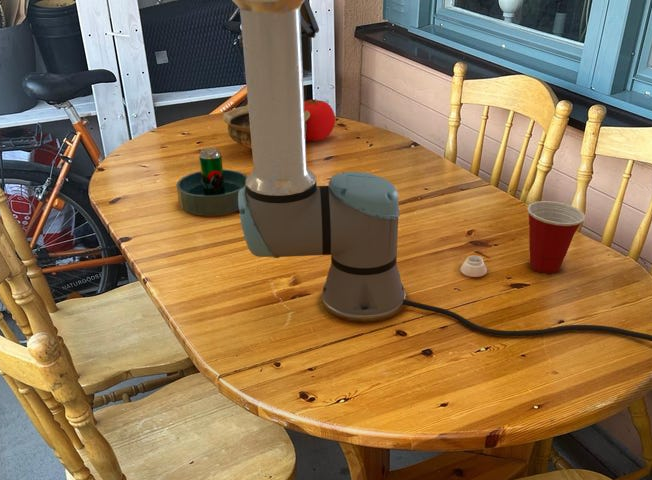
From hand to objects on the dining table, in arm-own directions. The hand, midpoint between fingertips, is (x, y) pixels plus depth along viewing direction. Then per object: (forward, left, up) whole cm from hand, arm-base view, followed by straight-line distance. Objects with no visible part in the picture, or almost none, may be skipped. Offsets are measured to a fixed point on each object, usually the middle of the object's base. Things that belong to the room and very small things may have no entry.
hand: (282, 75), depth 151 cm
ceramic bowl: (+31, -20, -29) cm, 47 cm away
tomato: (+29, -35, -23) cm, 51 cm away
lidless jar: (-53, -1, -29) cm, 60 cm away
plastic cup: (-62, -13, -29) cm, 70 cm away
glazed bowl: (+12, +13, -29) cm, 34 cm away
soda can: (+12, +13, -28) cm, 33 cm away
